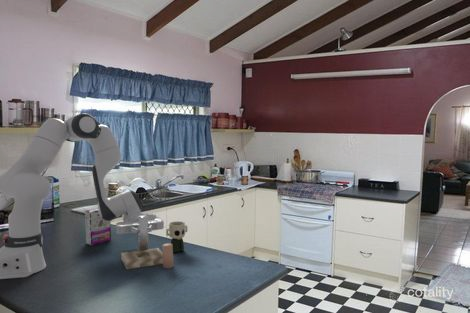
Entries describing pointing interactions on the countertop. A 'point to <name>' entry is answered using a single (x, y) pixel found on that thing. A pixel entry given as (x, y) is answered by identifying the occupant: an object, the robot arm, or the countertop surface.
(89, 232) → the candy bar box
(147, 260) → the hole plate
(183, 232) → the character mug
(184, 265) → the countertop surface
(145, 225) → the steel pin
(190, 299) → the countertop surface
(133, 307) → the countertop surface
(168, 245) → the terracotta pin
